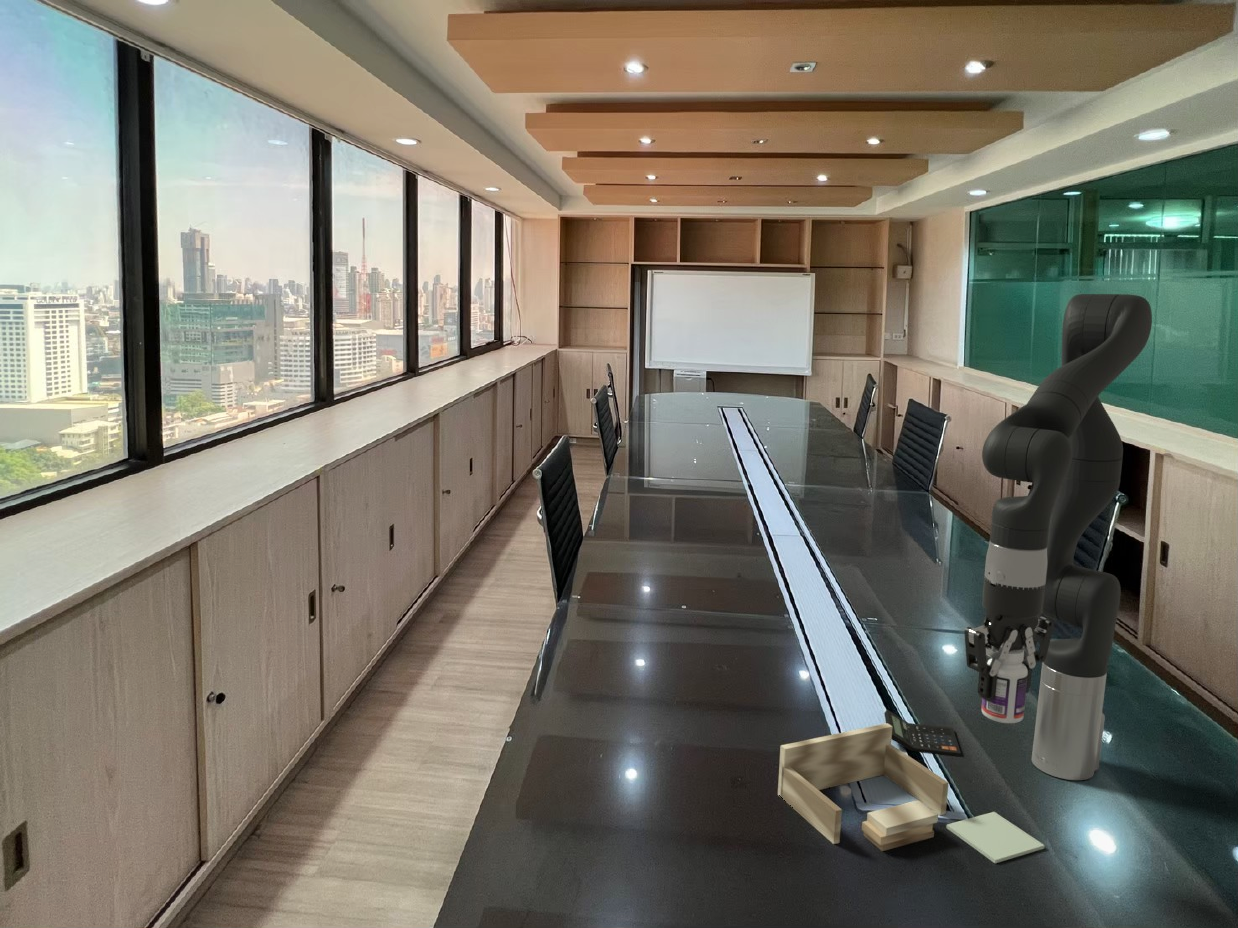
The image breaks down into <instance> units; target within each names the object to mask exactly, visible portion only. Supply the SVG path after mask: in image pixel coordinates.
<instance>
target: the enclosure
mask: <svg viewBox="0 0 1238 928" xmlns="http://www.w3.org/2000/svg"><path fill="white" fill-rule="evenodd" d="M891 738H892V726H891V725H889V724H888V723H886V722H885V723H881V724H877V725H872V726H867V727H863V728H858V729H853V730H848V731H845V732H838V733H834V734H829V735H824V736H820V737H819V736H818V737H814V738H810V739H806V740H805V739H804V740H800V741H796V742H791V743H785V744H781V745H780V747H779V748H780V751H779V767H778V768H779V769H778V782H777V783H778V785H777V796H779V795H780V796H781V797H782V798H783V799H782V798H781V797H780V796H779V797H780V798H781V799H782V800H783V801H784V800H785V801H786V802H785V801H784V802H785V803H786V804H787V805H789V806H790V805H791V806H790V807H791V808H792V807H793V808H792V809H793V810H794V811H796V813H798V814H799V815H800V816H801V817H802V818H803V819H805V821H807V822H808V823H809V824H810V825H811V826H812V827H814V828H815V829H816V830H817V831H818V832H819V833H820V834H822V835H823V836H824V837H825V838H826V839H827V840H828V841H829V842H831V844H833V845H834V844H835V845H836V844H839V843H840V842H841V840H840V839H841V829H842V828H841V825H842V814H843V813H842V811H843V810H842V808H840V807H839V806H838V805H837V804H836V803H835V802H833V801H832V800H831V799H830V798H829V797H828V796H826V795H825V794H823V793H822V792H821V790H824V789H828V788H829V787H830V788H833V787H837V786H842V785H847V784H850V783H855V782H858V781H862V780H863V781H864V780H866V779H867V780H868V779H871V778H875V777H879V776H885V777H886V778H888V779H889V780H891V781H892V782H893V783H895V784H896V785H897V786H899V787H900V788H901V789H903V790H904V791H906V792H907V793H909V794H910V795H911V796H912V797H914V799H915V798H916V799H917V800H919V801H920V802H922V803H923V804H924V805H926V806H927V807H928V808H930V809H931V810H933V811H934V812H935V813H937V814H938V816H944V815H946V814H947V803H948V793H949V792H948V791H949V784H950V783H949V781H947V780H946V779H944V778H942V777H941V776H940V775H938V774H937V773H935V772H933V771H932V770H931V769H929V768H927V767H926V766H924V765H923V764H922V763H920V762H918V761H917V760H915V759H914V758H912V756H910V755H908V754H906V753H905V752H903V751H902V750H901V749H899V748H898V747H896V746H894V745H893V744H892V739H891Z"/></svg>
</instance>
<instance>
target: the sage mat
mask: <svg viewBox="0 0 1238 928" xmlns="http://www.w3.org/2000/svg"><path fill="white" fill-rule="evenodd" d="M945 828H946V829H947V830H948V831H949V832H951V833H952V834H954V835H955V836H957V837H958V838H960V839H961V840H962V841H964V842H965V843H966V844H968V845H969V846H970V847H971V848H973V849H974V850H975V851H978V852H979V853H980V854H981V855H983V856H984V857H985V858H987V859H988V860H989V861H991V862H992V863H994V864H997V863H1002V862H1004V861H1008V860H1011V859H1015V858H1018V857H1021V856H1025V855H1027V854H1030V853H1034V852H1037V851H1041V850H1044V849H1045V844H1043V842H1041V841H1039V840H1037V839H1036V838H1034V837H1033V836H1032V835H1030V834H1029V833H1027V832H1025V831H1024V830H1023V829H1021V828H1019V827H1018V826H1017V825H1015V824H1013V823H1012V822H1010V821H1009V820H1007V819H1006V818H1004V817H1003V816H1001V815H1000V814H998V813H997V812H996V811H992V812H989V813H983V814H981V815H977V816H973V817H970V818H967V819H966V818H965V819H963V820H959V821H956V822H955V821H954V822H952V823H948V824H946V827H945Z"/></svg>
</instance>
